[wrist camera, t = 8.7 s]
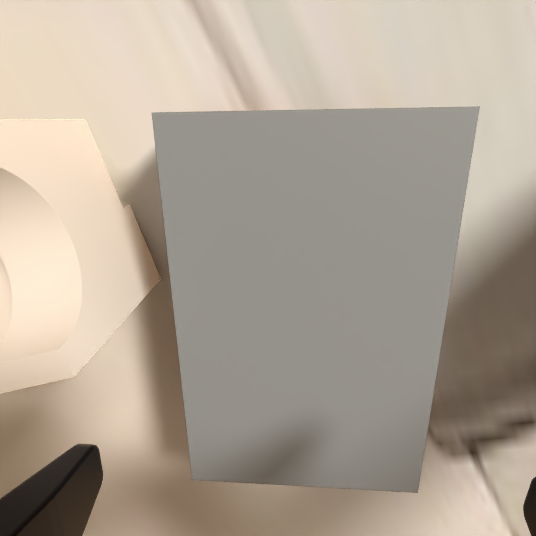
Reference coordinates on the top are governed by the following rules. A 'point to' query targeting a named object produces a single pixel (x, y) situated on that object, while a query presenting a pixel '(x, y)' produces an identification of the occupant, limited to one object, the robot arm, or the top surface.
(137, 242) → the bracket
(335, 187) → the slate slab
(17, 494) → the robot arm
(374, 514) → the top surface
